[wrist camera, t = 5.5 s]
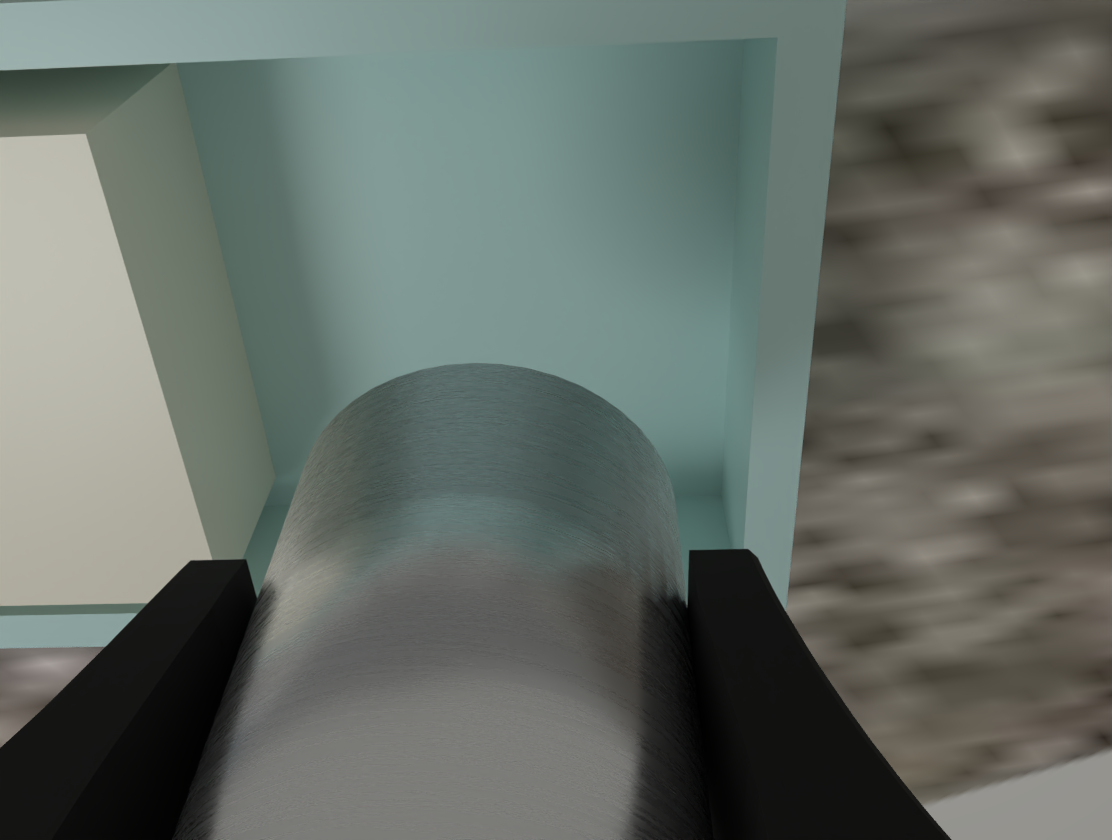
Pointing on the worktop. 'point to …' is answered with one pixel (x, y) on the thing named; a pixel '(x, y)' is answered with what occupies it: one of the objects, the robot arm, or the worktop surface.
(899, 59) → the worktop surface
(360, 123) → the tote
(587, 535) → the tin can
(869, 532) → the worktop surface
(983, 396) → the worktop surface
